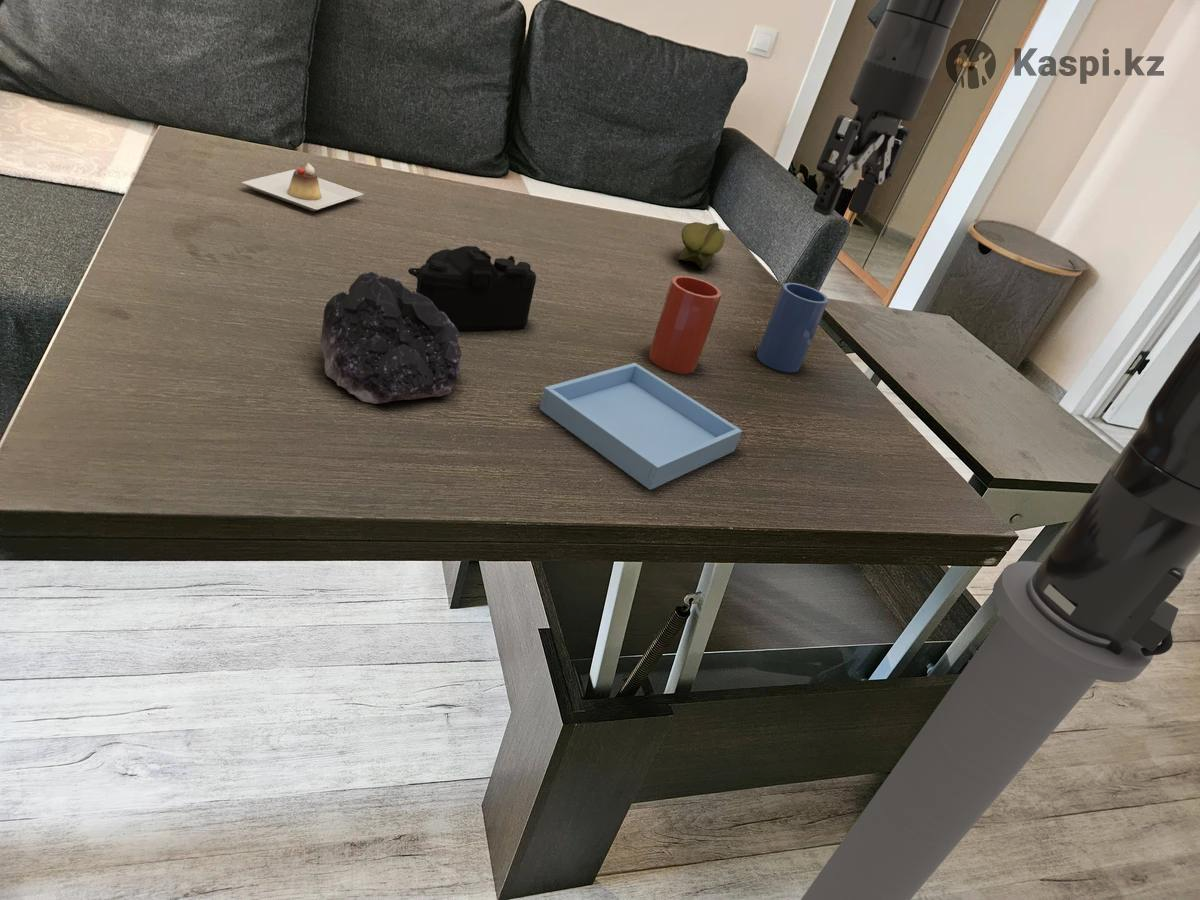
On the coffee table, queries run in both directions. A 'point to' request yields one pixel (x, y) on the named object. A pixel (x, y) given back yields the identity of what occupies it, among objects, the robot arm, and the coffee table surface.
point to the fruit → (701, 243)
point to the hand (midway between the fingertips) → (839, 213)
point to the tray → (640, 423)
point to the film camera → (477, 288)
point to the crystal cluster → (388, 342)
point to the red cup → (684, 324)
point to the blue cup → (791, 327)
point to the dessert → (302, 189)
